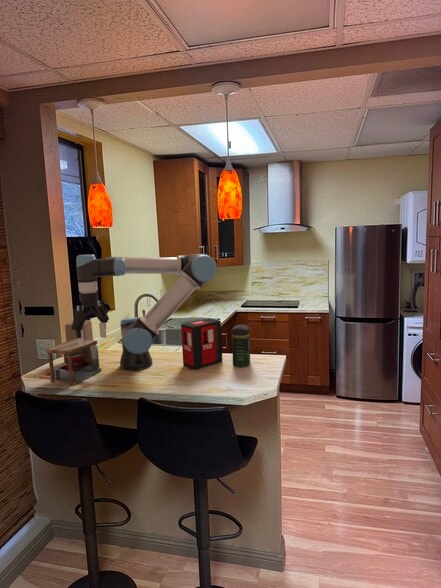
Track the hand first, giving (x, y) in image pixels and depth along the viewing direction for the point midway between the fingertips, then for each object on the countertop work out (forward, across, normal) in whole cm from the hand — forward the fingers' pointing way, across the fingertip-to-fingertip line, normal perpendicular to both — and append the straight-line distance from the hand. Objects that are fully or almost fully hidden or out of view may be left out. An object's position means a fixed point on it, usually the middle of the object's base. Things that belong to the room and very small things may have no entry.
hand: (92, 341), depth 169 cm
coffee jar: (+17, -37, +53) cm, 67 cm away
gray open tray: (+17, 0, -8) cm, 19 cm away
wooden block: (+18, -20, -26) cm, 38 cm away
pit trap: (+18, -1, -23) cm, 29 cm away
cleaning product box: (+17, -33, +35) cm, 52 cm away
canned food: (+18, 0, -12) cm, 21 cm away
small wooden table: (+17, 0, -12) cm, 21 cm away
